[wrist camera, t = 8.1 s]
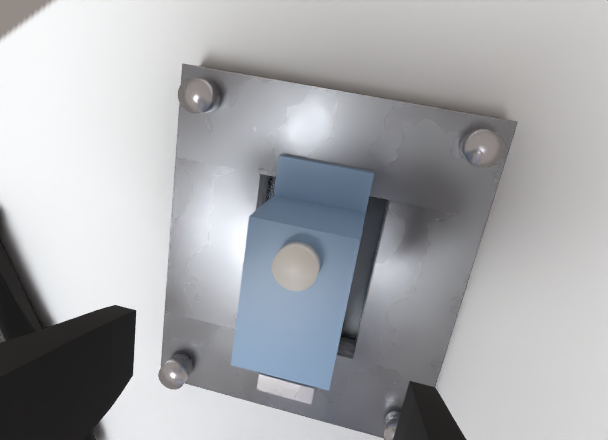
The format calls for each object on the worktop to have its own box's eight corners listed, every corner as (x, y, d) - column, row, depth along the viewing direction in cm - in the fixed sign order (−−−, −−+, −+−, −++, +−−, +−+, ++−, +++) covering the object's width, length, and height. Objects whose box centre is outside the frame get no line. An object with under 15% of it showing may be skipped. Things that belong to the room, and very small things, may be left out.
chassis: (414, 422, 20) (417, 465, 18) (175, 358, 22) (149, 390, 19) (505, 119, 16) (526, 123, 13) (199, 66, 17) (169, 61, 15)
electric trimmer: (72, 449, 26) (31, 496, 23) (-59, 206, 22) (-128, 224, 19) (125, 441, 25) (89, 489, 22) (-3, 186, 21) (-67, 202, 18)
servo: (337, 346, 20) (318, 439, 14) (264, 328, 20) (220, 411, 15) (375, 165, 17) (370, 196, 12) (290, 149, 18) (249, 172, 12)
